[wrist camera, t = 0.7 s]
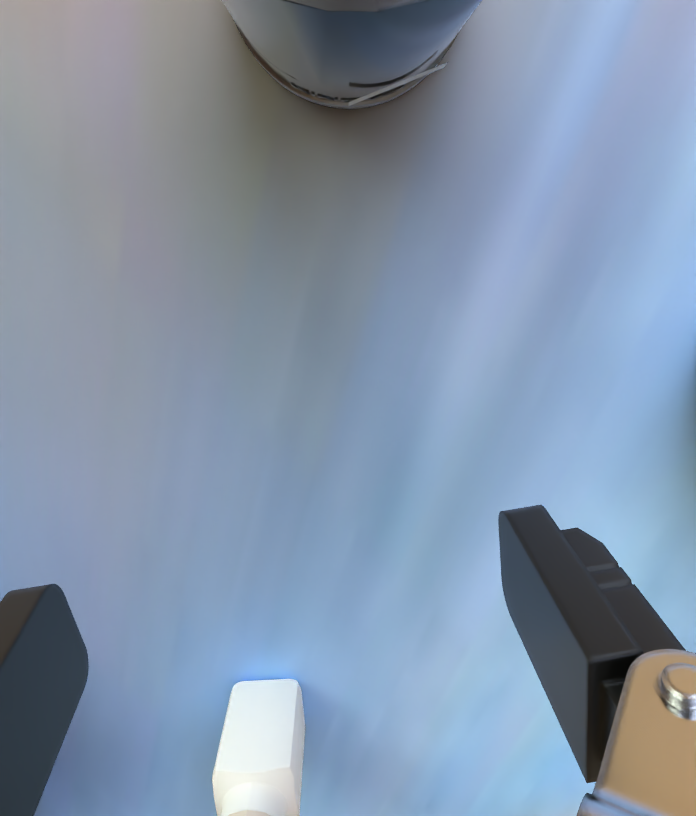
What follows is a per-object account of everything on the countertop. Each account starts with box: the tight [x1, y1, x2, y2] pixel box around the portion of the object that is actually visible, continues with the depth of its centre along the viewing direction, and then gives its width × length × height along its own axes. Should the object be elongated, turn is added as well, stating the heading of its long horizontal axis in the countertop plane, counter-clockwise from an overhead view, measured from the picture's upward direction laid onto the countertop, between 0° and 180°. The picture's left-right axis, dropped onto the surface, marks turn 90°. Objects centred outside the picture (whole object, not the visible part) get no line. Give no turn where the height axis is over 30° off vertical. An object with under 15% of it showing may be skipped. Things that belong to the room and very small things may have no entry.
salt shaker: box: [212, 679, 305, 816], centre depth 31 cm, size 4×4×10 cm
